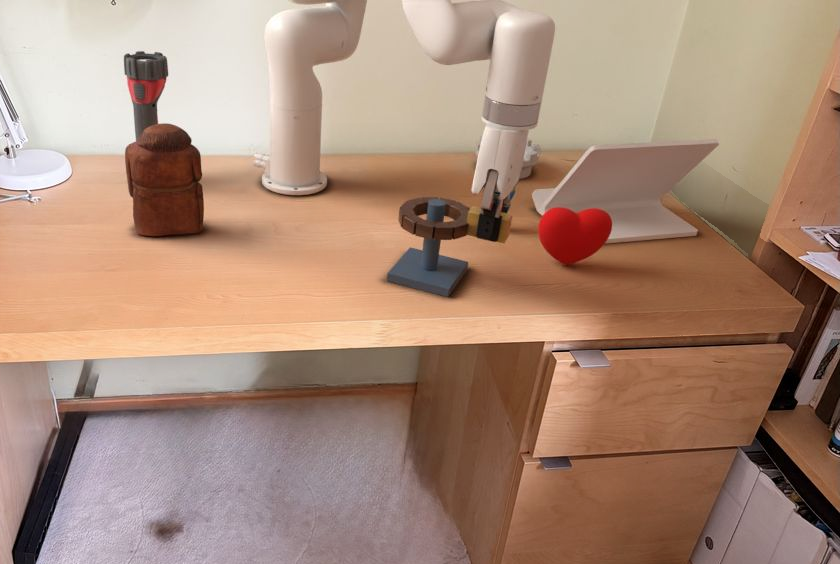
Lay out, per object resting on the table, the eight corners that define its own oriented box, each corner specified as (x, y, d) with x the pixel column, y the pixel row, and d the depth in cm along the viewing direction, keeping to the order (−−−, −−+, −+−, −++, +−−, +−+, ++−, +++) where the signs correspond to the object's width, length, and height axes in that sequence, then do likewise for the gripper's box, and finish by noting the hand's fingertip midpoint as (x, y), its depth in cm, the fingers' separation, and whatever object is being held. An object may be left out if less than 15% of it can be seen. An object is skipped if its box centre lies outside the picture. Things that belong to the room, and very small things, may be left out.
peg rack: (386, 281, 121) (394, 206, 114) (408, 255, 128) (417, 183, 121) (448, 297, 117) (459, 221, 111) (467, 269, 125) (478, 197, 118)
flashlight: (166, 168, 154) (157, 48, 141) (181, 182, 148) (173, 58, 136) (128, 174, 150) (115, 51, 138) (141, 188, 145) (129, 62, 132)
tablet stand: (698, 235, 141) (729, 144, 131) (576, 246, 134) (600, 151, 125) (640, 195, 155) (665, 110, 146) (528, 203, 149) (545, 115, 139)
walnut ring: (388, 229, 115) (390, 207, 113) (413, 203, 124) (415, 182, 122) (496, 255, 110) (500, 232, 108) (515, 226, 119) (519, 204, 117)
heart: (595, 258, 131) (610, 203, 125) (605, 273, 127) (621, 217, 121) (527, 256, 130) (538, 200, 125) (535, 272, 126) (547, 215, 120)
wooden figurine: (201, 219, 136) (196, 117, 126) (206, 235, 130) (201, 130, 120) (131, 223, 133) (120, 119, 123) (133, 240, 128) (122, 133, 118)
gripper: (499, 92, 112) (480, 210, 122) (466, 122, 100) (448, 250, 110) (551, 100, 110) (527, 220, 120) (524, 133, 97) (500, 263, 108)
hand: (490, 233), depth 115 cm, fingers closed on walnut ring, 2 cm apart
